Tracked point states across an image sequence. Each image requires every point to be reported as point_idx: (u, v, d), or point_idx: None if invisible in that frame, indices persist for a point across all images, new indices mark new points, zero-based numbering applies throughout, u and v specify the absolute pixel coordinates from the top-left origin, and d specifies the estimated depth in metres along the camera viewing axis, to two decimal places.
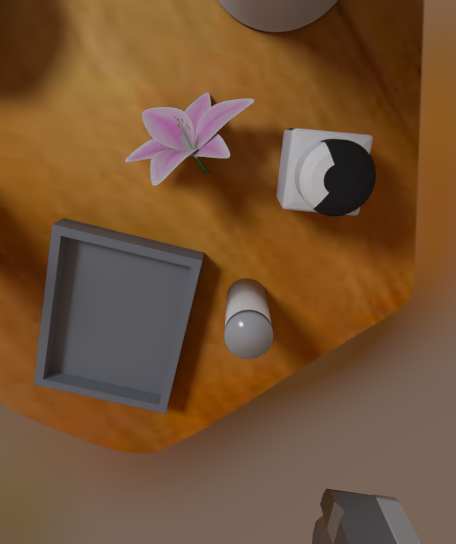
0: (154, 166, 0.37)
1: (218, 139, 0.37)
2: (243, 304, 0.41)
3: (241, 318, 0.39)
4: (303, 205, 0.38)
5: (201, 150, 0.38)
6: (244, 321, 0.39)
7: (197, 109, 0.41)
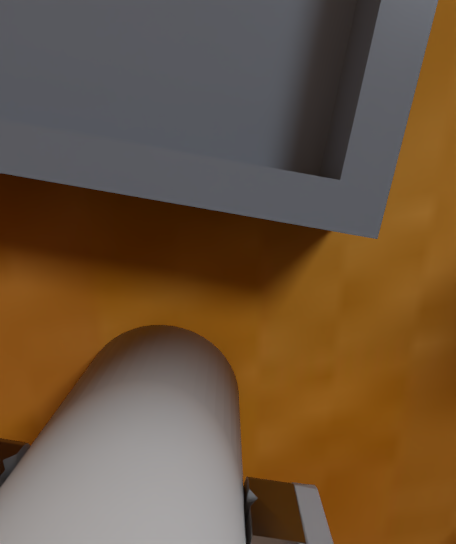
0: None
1: None
2: None
3: None
4: None
5: None
6: None
7: None
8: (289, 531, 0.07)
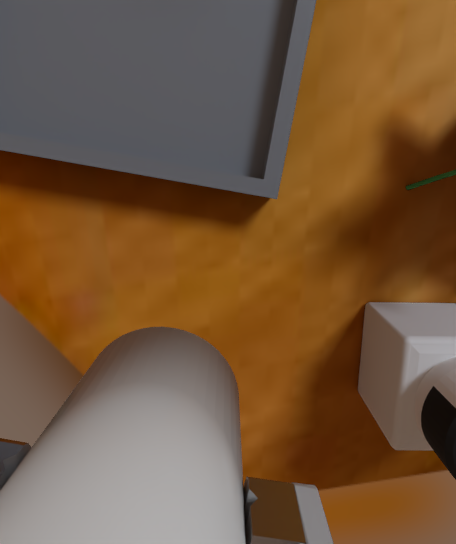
0: None
1: None
2: None
3: None
4: (412, 371, 0.23)
5: None
6: None
7: None
8: (289, 531, 0.07)
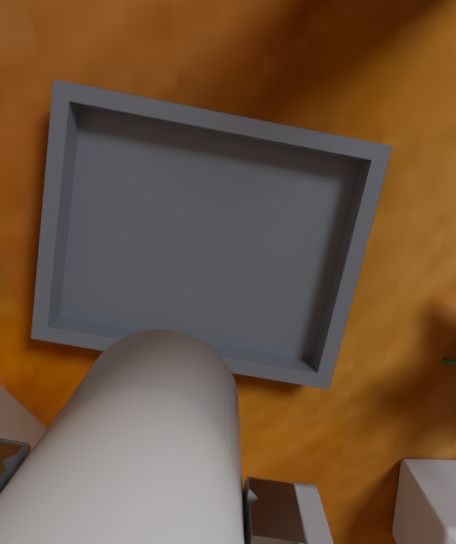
0: None
1: None
2: None
3: None
4: None
5: None
6: None
7: None
8: (289, 531, 0.07)
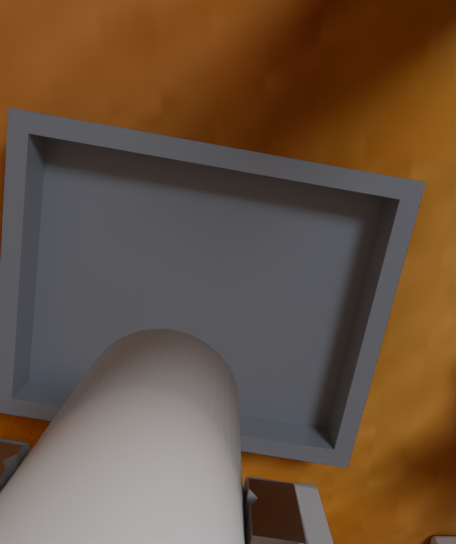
0: None
1: None
2: None
3: None
4: None
5: None
6: None
7: None
8: (289, 531, 0.07)
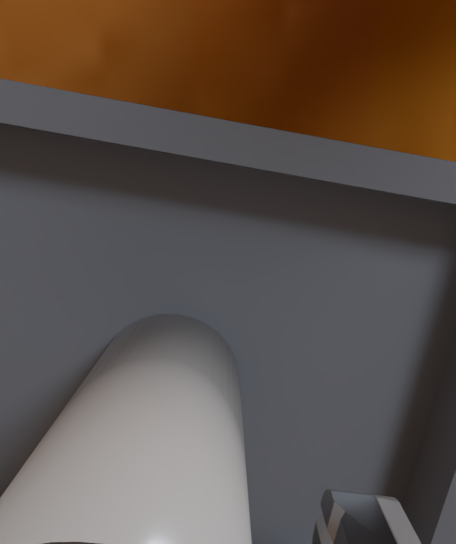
0: None
1: None
2: None
3: None
4: None
5: None
6: None
7: None
8: None
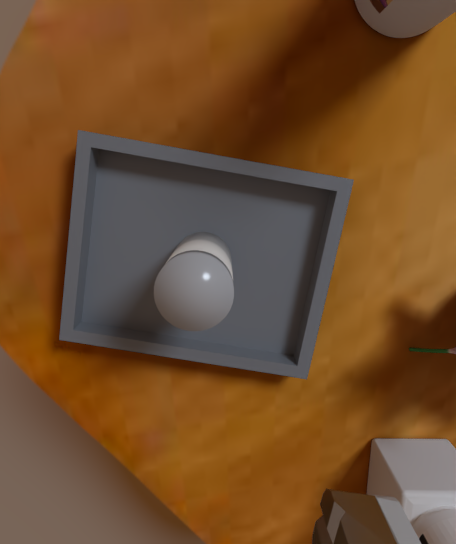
0: None
1: None
2: (231, 272, 0.27)
3: (226, 279, 0.24)
4: (407, 515, 0.32)
5: None
6: (221, 284, 0.24)
7: None
8: None
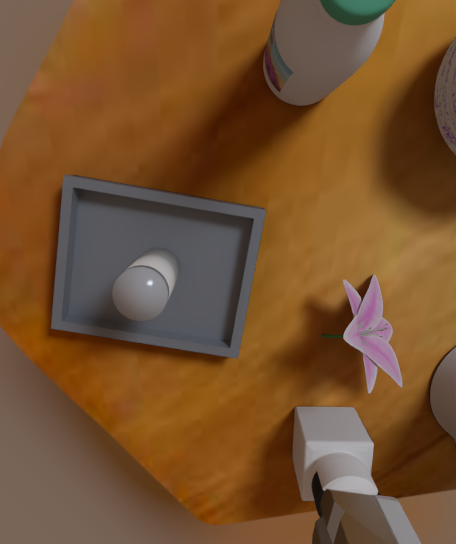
0: (352, 325, 0.39)
1: (375, 371, 0.41)
2: (170, 280, 0.38)
3: (162, 285, 0.35)
4: (309, 459, 0.43)
5: (364, 357, 0.41)
6: (158, 288, 0.35)
7: (382, 327, 0.46)
8: None
